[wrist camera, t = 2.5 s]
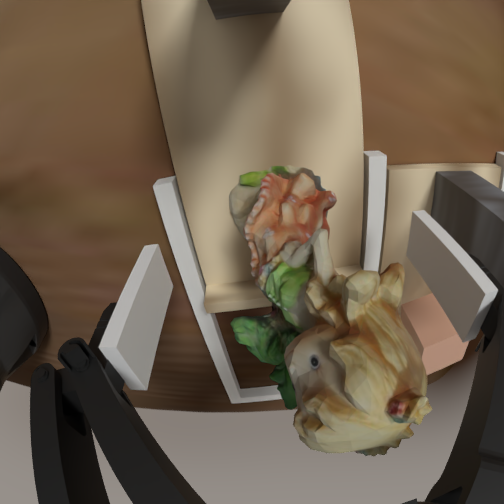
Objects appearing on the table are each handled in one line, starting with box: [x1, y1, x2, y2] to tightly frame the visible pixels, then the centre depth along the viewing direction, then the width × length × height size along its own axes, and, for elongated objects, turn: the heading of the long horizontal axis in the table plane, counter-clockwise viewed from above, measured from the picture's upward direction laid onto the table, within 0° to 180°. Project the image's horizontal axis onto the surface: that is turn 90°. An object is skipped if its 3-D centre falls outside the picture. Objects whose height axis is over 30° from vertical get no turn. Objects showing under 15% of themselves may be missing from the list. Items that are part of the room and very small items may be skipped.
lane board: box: [153, 151, 504, 403], centre depth 23 cm, size 27×25×1 cm
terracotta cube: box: [401, 293, 469, 375], centre depth 22 cm, size 5×5×5 cm
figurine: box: [229, 165, 432, 456], centre depth 13 cm, size 9×8×15 cm
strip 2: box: [378, 163, 504, 318], centre depth 18 cm, size 11×22×11 cm, turn 8°
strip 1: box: [141, 0, 364, 314], centre depth 12 cm, size 11×22×11 cm, turn 8°
